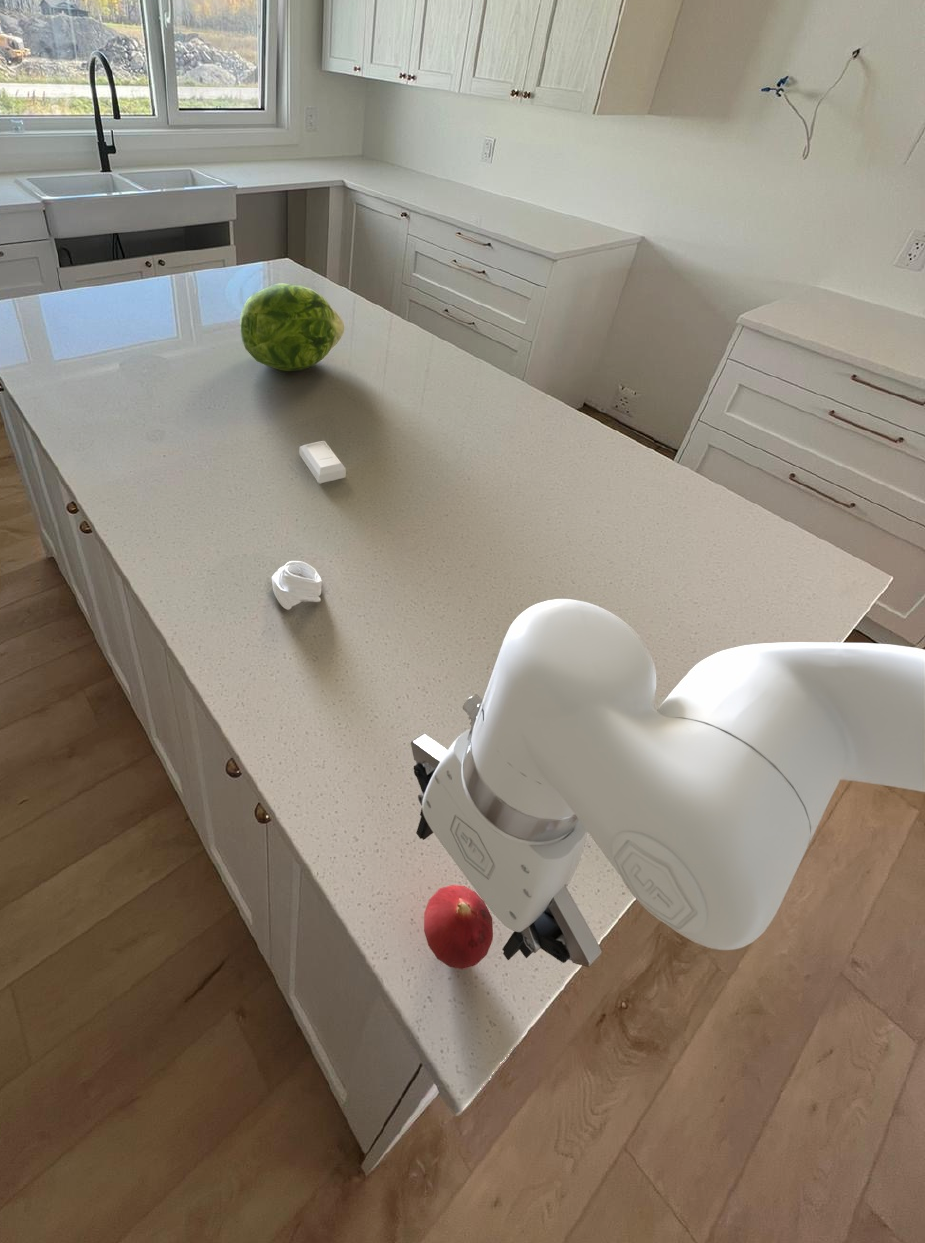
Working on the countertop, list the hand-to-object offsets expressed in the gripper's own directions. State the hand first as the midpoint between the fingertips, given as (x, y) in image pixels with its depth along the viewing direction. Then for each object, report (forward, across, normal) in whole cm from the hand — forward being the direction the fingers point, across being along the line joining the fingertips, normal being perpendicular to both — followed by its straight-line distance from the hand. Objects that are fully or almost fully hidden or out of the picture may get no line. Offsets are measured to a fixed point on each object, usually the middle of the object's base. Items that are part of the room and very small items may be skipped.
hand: (473, 881), depth 49 cm
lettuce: (+14, -103, +45) cm, 113 cm away
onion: (+12, 0, 0) cm, 12 cm away
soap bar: (+13, -66, +29) cm, 73 cm away
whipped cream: (+13, -42, +10) cm, 45 cm away
